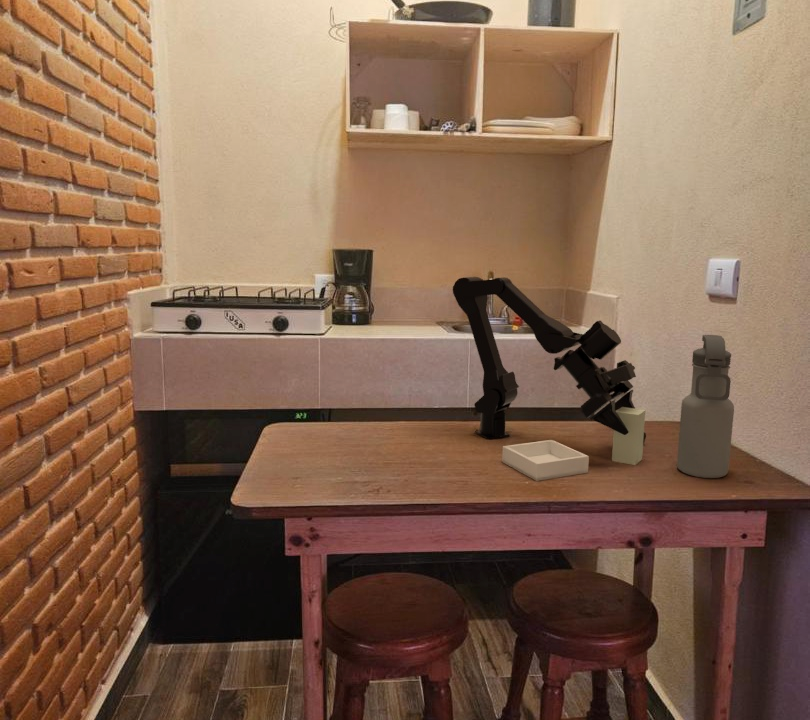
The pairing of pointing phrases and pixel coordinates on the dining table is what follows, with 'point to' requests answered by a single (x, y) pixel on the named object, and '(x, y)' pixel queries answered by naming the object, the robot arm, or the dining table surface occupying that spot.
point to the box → (545, 460)
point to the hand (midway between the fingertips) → (633, 429)
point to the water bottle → (707, 413)
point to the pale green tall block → (629, 436)
